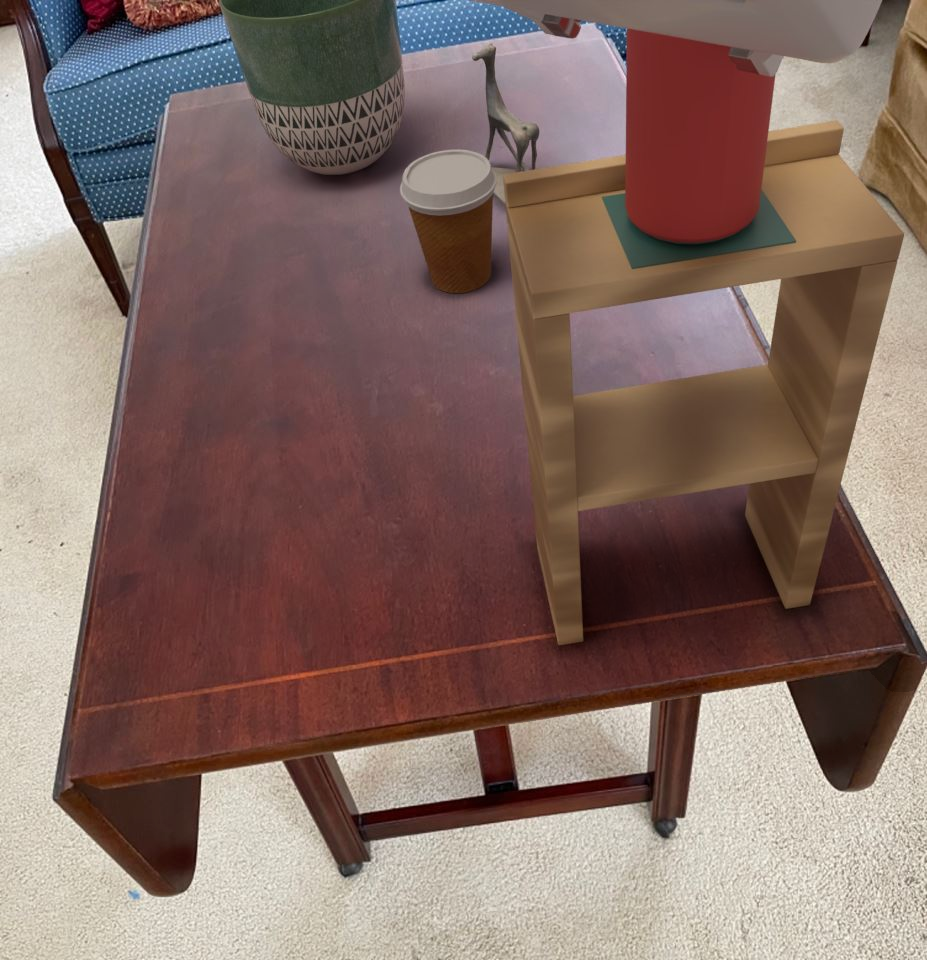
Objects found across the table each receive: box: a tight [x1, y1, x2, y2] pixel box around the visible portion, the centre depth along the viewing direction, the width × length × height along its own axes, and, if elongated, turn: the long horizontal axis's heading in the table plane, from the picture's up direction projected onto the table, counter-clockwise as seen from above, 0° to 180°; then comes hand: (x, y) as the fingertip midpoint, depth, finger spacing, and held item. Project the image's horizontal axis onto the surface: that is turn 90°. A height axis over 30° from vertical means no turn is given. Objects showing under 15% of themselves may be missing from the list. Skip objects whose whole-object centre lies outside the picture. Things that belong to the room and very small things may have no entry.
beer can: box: [625, 28, 777, 245], centre depth 43 cm, size 7×7×12 cm
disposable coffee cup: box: [399, 149, 497, 294], centre depth 95 cm, size 10×10×12 cm
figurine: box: [471, 43, 540, 207], centre depth 106 cm, size 11×6×15 cm, turn 15°
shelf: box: [503, 120, 905, 646], centre depth 58 cm, size 18×9×32 cm, turn 96°
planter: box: [218, 0, 406, 176], centre depth 112 cm, size 20×20×21 cm
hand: (662, 37), depth 40 cm, fingers open, 8 cm apart
